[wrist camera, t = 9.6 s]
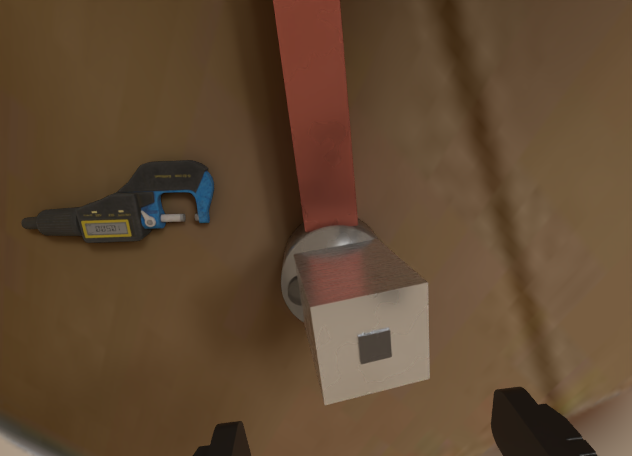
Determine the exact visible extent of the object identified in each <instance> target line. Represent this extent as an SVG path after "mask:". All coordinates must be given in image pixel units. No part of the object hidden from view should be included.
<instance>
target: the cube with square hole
mask: <svg viewBox="0 0 632 456" xmlns="http://www.w3.org/2000/svg"><path fill="white" fill-rule="evenodd" d="M293 255H294V261H295V267H296V274H297V280H298V286H299V293H300V299H301V305H302V311H303V318H304V324H305V330H306V334H307V338H308V342H309V346H310V349H311V353H312V357H313V361H314V365H315V369H316V373H317V377H318V381H319V385H320V389H321V393H322V396H323V400H324V404H325V405H328V404H332V403H336V402H340V401H344V400H348V399H352V398H356V397H360V396H364V395H368V394H372V393H375V392H379V391H383V390H387V389H391V388H395V387H399V386H403V385H407V384H411V383H415V382H419V381H423V380H427V379H430V368H429V312H428V282H427V281H426V280H425V279H423V278H422V277H421V276H420V275H419V274H418V273H416V272H415V271H414V270H413V269H412V268H411V267H410V266H408V265H407V264H406V263H405V262H404V261H403V260H401V259H400V258H399V257H398V256H397V255H396V254H395V253H393V252H392V251H391V250H390V249H389V248H388V247H386V246H385V245H384V244H383V243H382V242H381V241H380V240H378V239H373V240H367V241H362V242H357V243H351V244H346V245H341V246H335V247H330V248H324V249H319V250H314V251H308V252H303V253H298V254H293Z"/></svg>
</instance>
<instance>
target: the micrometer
mask: <svg viewBox="0 0 632 456" xmlns="http://www.w3.org/2000/svg"><path fill="white" fill-rule="evenodd" d="M207 170H208V168H207V167H206V166H205V165H203V164H201V163H199V162H196V161H193V160H184V161H158V162H148V163H145V164H142V165H141V166H139V168H138V169H137V171H136V172H135V173H134V175H133V176H132V178H131V179H130V180H129V182H128V183H126V184H125V185H124V186H123V187H122V188H121V189H120V190H119V191H118V192H116V193H114V194H111V195H109V196H107V197H105V198H103V199H101V200H98V201H95V202H93V203H89V204H87V205H85V206H82V207H76V208H63V209H50V210H44V211H42V212H41V213H39V215H38V216H37V217H28V218H24V219H23V220H22V226H23V228H25V229H38V230H39V231H40V232H41V233H42V234H44V235H47V236H82V237H83V240H84V241H85V242H87V243H103V242H124V241H140V240H142V239H143V238H144V237H145V236H147V235H148V234H149V233H150V232H151V229H153V228H164V227H165V224H166V222H180V221H185V214H165V213H164V211H163V209H162V204H161V195H162V194H163V193H171V192H188V193H191V194H192V195H193V196H194V197H195V199H196V204H197V211H198V213H196V214H195V220H196V221H199V223H209V221H210V217H209V208H210V204H211V201H212V197H213V192H214V182H213V179H212V177H211V175H210V173H209V172H208V171H207Z"/></svg>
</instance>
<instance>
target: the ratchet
mask: <svg viewBox="0 0 632 456" xmlns="http://www.w3.org/2000/svg"><path fill="white" fill-rule="evenodd" d="M273 4H274V11H275V19H276V26H277V33H278V40H279V47H280V55H281V62H282V69H283V76H284V83H285V91H286V98H287V105H288V112H289V119H290V126H291V134H292V141H293V148H294V155H295V162H296V170H297V177H298V184H299V191H300V198H301V206H302V213H303V220H304V222H303V223H302V224H301V225H300V226H299V227H297V229H296V230H295V231H294V232H293V233H292V235H291V236H290V238H289V240H288V242H287V244H286V247H285V251H284V258H283V266H282V275H281V289H282V294H283V298H284V300H285V302H286V304H287V306H288V308H289V309H290V310H291V312H292V313H293V314H294V315H295V316H296V317H297V318H298V319H300V320H301V321H302V322H304V318H303V311H302V305H301V299H300V293H299V286H298V280H297V274H296V267H295V261H294V255H293V254H298V253H303V252H308V251H314V250H319V249H324V248H330V247H335V246H341V245H346V244H351V243H357V242H362V241H367V240H373V239H378V238H377V236H376V235H375V233H374V232H373V231H372V229H371V228H370V227H369V226H368V225H367V224H366V223H364V222H363V221H361V220H360V219H358V218H357V205H356V193H355V181H354V169H353V156H352V144H351V132H350V119H349V107H348V95H347V82H346V70H345V58H344V45H343V33H342V21H341V9H340V0H273ZM378 240H379V239H378Z"/></svg>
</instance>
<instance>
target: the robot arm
mask: <svg viewBox="0 0 632 456" xmlns="http://www.w3.org/2000/svg"><path fill="white" fill-rule="evenodd" d="M491 429H492V433H493V436H494V439H495V442H496V444H497V446H498V448H499V449H500V451H501V453H502V455H503V456H597V455H596V452H595V451H594V449H593V448H592V447H591V446H590V445H589V444H588V443H587V442H586V440H583V438H582V436H581V435H580V433H578V431H577V430H576V429H575V428H574V427H573V425H572V424H570V422H569V421H568V420H567V419H566V418H565V417H564V416H562V415H561V414H560V413H558V412H557V411H555V410H554V409H553V408H551V407H550V406H548V405H547V404H540V405H538V404H537V403H536V402H535V400H534V399H533V398H532V397H531V396H530V394H529V393H528V392H527V391H526V390H525V389H524V388H522V387H513V388H505V389H498V390H495V392H494V399H493V409H492V419H491ZM193 456H251V453H250V449H249V445H248V441H247V437H246V434H245V430H244V426H243V423H242V421H237V422H229V423H221V424H217V425H216V427H215V430H214V433H213V437H212V440H211V444H210V445H208V446H201V447H198V449H197V450H196V452H195V453H194V455H193Z"/></svg>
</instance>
